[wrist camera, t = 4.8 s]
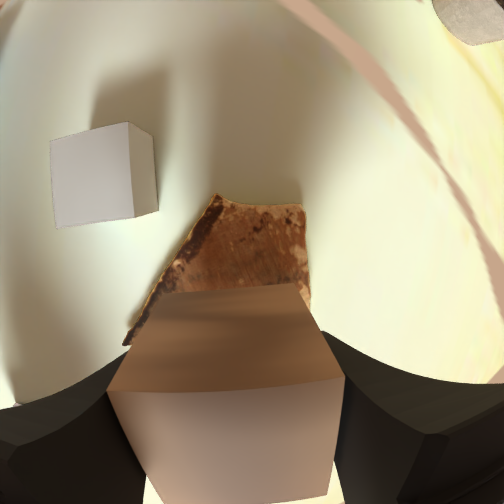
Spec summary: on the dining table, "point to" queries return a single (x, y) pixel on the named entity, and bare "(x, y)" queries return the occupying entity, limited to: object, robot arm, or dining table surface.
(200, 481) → the walnut block
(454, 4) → the house plant
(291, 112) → the dining table surface
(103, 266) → the dining table surface
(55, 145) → the light-grey block
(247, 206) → the shard
